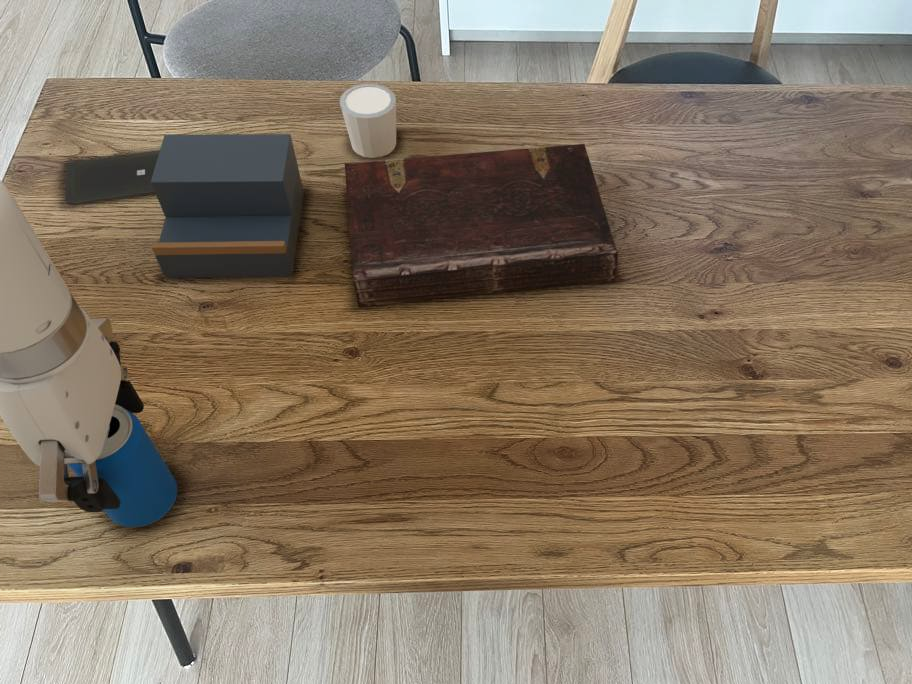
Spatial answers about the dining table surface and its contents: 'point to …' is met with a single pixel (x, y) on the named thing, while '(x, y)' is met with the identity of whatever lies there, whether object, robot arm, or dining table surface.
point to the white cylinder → (370, 119)
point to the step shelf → (228, 205)
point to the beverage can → (133, 472)
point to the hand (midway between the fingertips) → (114, 456)
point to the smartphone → (110, 178)
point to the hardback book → (476, 224)
